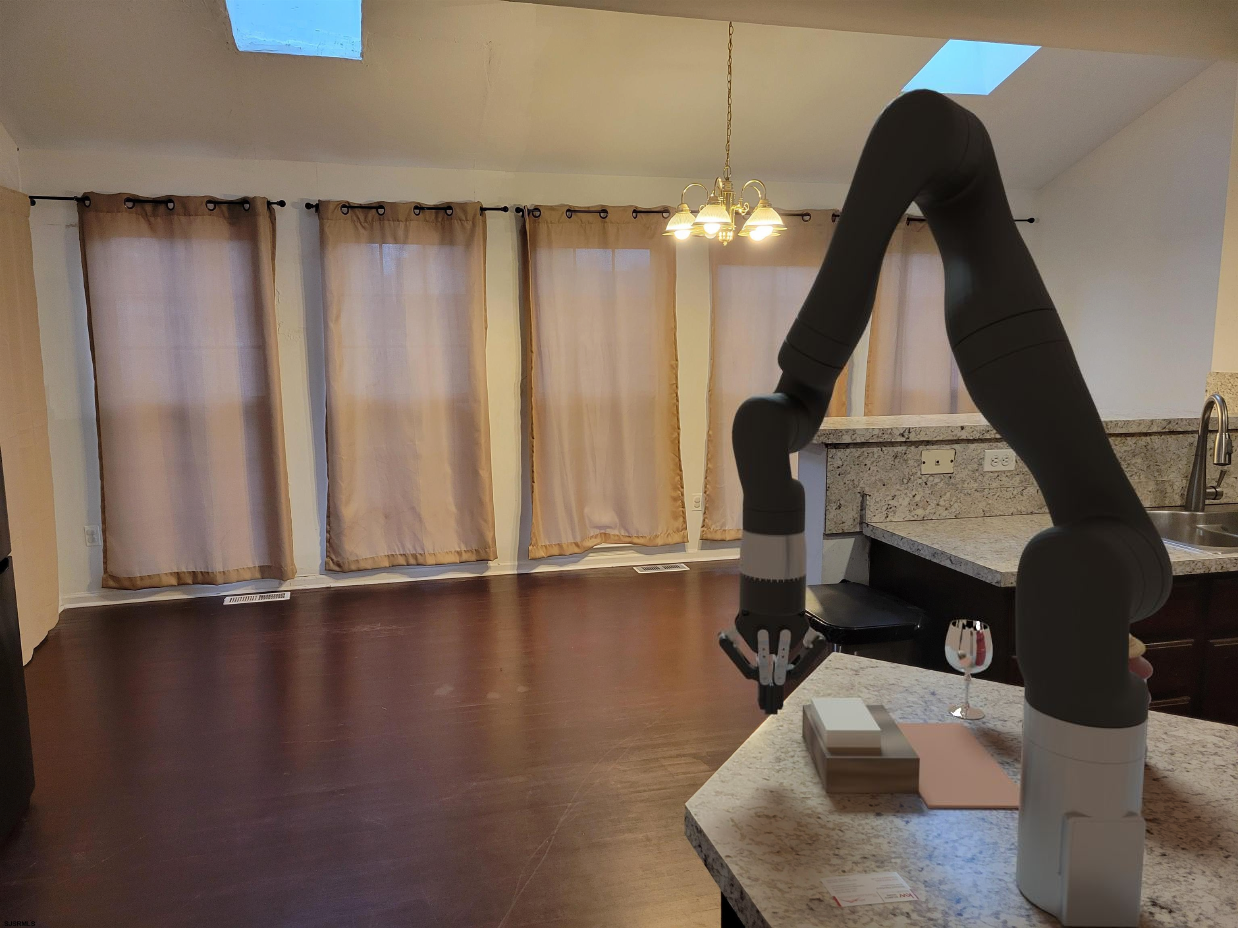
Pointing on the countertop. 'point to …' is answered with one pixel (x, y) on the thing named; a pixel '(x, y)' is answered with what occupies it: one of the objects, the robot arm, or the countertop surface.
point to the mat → (958, 768)
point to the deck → (865, 759)
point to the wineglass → (968, 658)
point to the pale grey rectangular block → (845, 722)
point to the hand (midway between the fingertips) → (770, 711)
